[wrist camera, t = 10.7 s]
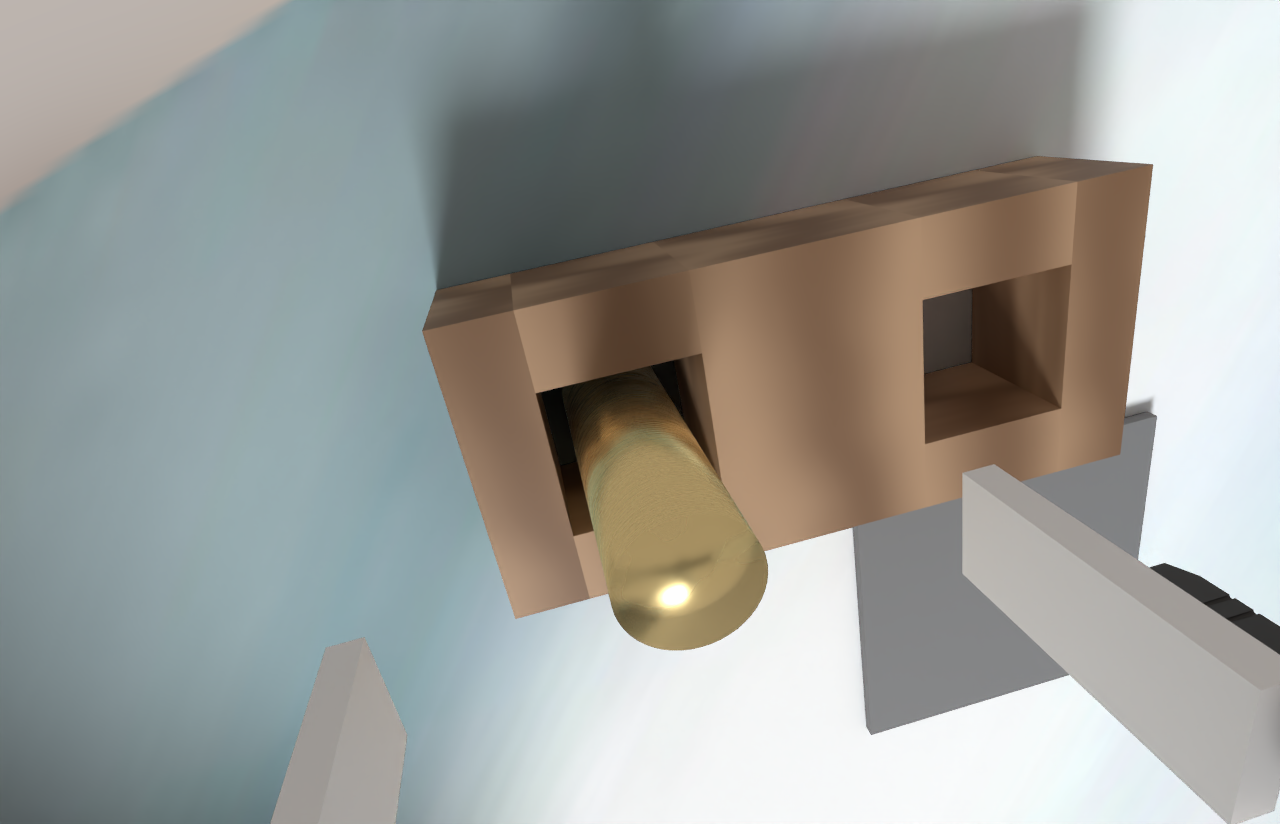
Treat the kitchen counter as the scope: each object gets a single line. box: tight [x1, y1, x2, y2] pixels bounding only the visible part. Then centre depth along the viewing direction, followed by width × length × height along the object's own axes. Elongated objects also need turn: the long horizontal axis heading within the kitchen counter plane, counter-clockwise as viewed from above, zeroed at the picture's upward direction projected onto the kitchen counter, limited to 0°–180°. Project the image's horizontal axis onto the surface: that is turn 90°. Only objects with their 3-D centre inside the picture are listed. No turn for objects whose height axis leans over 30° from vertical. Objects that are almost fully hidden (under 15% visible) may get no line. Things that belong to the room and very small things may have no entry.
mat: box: [853, 412, 1157, 735], centre depth 33 cm, size 14×14×1 cm
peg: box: [562, 366, 768, 650], centre depth 21 cm, size 4×4×12 cm
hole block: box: [422, 156, 1153, 619], centre depth 24 cm, size 22×10×5 cm, turn 100°
